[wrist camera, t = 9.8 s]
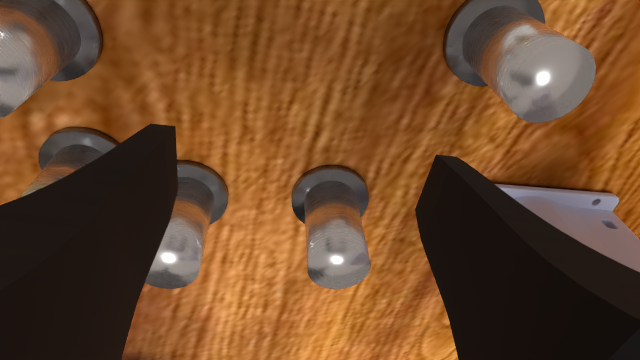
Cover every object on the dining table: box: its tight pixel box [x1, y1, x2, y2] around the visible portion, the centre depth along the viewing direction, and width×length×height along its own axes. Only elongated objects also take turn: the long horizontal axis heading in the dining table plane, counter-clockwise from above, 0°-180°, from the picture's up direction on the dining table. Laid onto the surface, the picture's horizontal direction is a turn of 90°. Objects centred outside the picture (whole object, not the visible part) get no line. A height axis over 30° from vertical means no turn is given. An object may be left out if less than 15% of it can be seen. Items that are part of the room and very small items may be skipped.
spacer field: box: [0, 0, 596, 289], centre depth 17 cm, size 24×20×6 cm
